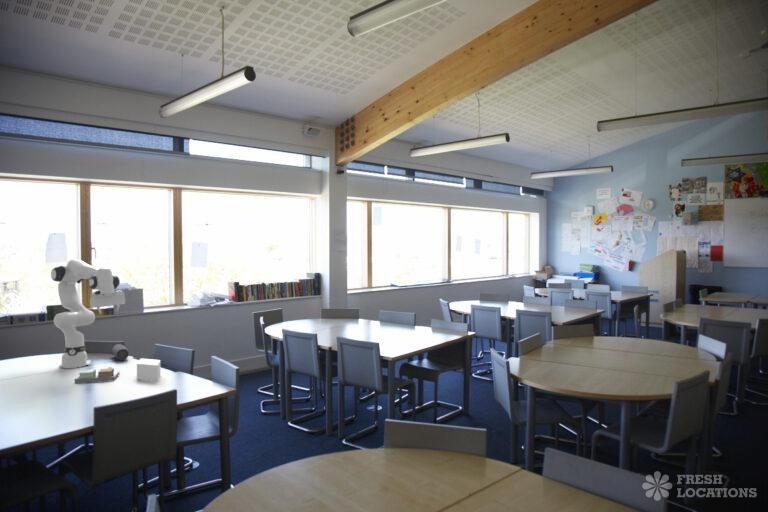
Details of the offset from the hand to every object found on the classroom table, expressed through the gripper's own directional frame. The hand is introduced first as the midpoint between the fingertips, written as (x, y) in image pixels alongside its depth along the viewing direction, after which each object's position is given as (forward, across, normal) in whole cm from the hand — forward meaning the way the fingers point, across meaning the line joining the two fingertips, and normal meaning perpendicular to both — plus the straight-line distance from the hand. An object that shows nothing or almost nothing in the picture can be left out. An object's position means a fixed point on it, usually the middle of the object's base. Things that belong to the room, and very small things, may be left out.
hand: (109, 312), depth 310 cm
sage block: (+41, +16, -2) cm, 44 cm away
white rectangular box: (+46, -15, +14) cm, 51 cm away
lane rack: (+41, +10, -2) cm, 42 cm away
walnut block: (+42, +5, -1) cm, 42 cm away
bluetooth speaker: (+31, -16, -56) cm, 66 cm away
